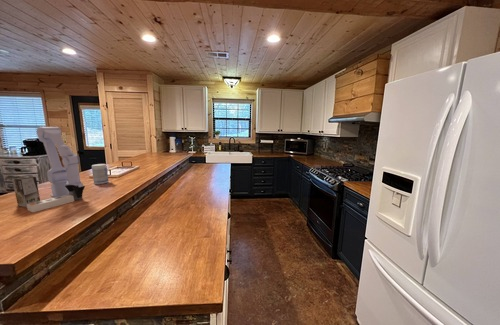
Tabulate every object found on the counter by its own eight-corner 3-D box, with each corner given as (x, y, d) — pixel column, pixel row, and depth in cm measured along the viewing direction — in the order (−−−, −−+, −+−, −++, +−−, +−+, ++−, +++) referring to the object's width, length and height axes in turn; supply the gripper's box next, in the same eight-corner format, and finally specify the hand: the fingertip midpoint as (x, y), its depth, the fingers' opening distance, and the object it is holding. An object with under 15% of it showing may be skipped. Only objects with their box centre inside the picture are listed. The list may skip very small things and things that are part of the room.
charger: (69, 201, 121) (68, 193, 120) (66, 200, 123) (64, 192, 122) (82, 198, 127) (81, 190, 126) (78, 197, 128) (77, 189, 128)
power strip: (32, 212, 106) (31, 205, 105) (27, 210, 109) (26, 203, 108) (74, 201, 122) (73, 195, 121) (69, 199, 125) (68, 193, 124)
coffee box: (41, 203, 118) (36, 176, 115) (26, 207, 112) (20, 179, 109) (32, 201, 121) (27, 175, 118) (17, 205, 115) (11, 177, 112)
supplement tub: (109, 183, 161) (107, 164, 158) (94, 185, 154) (92, 166, 152) (107, 180, 168) (105, 163, 165) (93, 182, 161) (90, 164, 159)
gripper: (58, 175, 123) (62, 196, 125) (71, 178, 116) (74, 200, 119) (73, 172, 129) (76, 193, 131) (85, 175, 123) (88, 196, 125)
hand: (76, 196), depth 125 cm, fingers open, 7 cm apart
